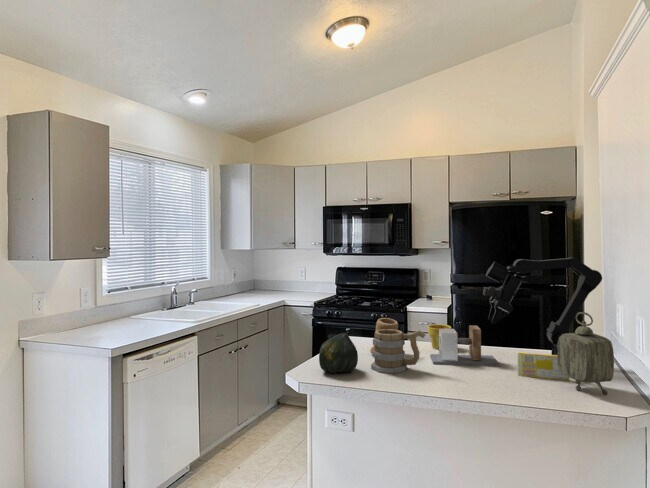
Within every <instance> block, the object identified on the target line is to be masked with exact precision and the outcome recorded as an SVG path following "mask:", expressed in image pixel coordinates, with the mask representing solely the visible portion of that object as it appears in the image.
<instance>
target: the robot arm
mask: <svg viewBox="0 0 650 488" xmlns="http://www.w3.org/2000/svg"><path fill="white" fill-rule="evenodd" d="M559 269H560V270H561V269H570V270H572V271H573V272H574V273H575V274H576V275H578V280H577V283H576V284H577V286H576V289H575V291H574V292H573V294H572V296H571V298H570V299H569V302H568V303H567V305H566V307H565V309H564V310H563V312H562V313H561V316H560V317H559V319H558V320H557V321H555V322H554V321H553V320H552V321H551V322H550V324H549V327H547V329H546V336H547V339H548V341H550V342H551V344H552V349H551V353H550V354H551V355H557V348H558V339H559V337H560V336H561V335H562V334H568V333H571V332H570V331H571V325H572V323H573V322H574V320H576V314H577V313H579V312H580V310H581V308H582V306H583V305H584V302H585V301H586V300H587V298H588V296H589V294H590V293H592V292H593V291H594V290H595V289H596V288H597V287H598V286H599V285H600V284H601V282H602V280H603V275H602V274H601V272H600V271H599V270H596V269H593V268H592V269H591V267H589V266H587V265H586V264H585V263H583V262H581V261H580V260H579V259H578V258H576V257H567V258H554V259H553V258H552V259H544V260H543V259H541V260H533V259H525V258H524V259H523V258H522V259H521V258H519V259H516V260H515V261H514V262H513V264H510V265H508V266H503V265H502V264H499V262H497V261H493V263H492V264H491V265H490V267H489V268H488V269H487V271H486V273H485V277H487V278H489V279H491V280H493V281H495V282H497V283H501V282H503V283H502V285H501V286H499V287H498V288H495V287H494V286H489V287H488V286H487V287H486V286H483V291H482V295H483V296H484V297H490V298H489V304H490V309H489V314H488V318H487V320H488V321H491V322H490V323H491V325H494V326H495V325H496V324H497V323H498V322H499V321H501V320H502V319H503V318H505V317H507V316H508V315H510V314H512V312H513V310H514V306H513V305H512V303H511V302H512V300H513V299H514V297H516V296H517V291H518V290H519V288H520V286H521V284H522V283H524V284H528V283H529V281H528V280H527V276H526V275H527V274H531V273H534V272H537V271H538V272H539V271H544V270H546V271H547V270H559ZM509 272H510V273H509ZM512 273H514V274H512ZM521 275H523V276H521Z"/></svg>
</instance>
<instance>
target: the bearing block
mask: <svg viewBox="0 0 650 488" xmlns="http://www.w3.org/2000/svg"><path fill="white" fill-rule="evenodd" d="M457 338H458V332H457V331H456V329H455V328H451V329H439V349H438V354H439V356H440V358H441V360H442V361H458V355H459V354H458V345H459V344H458V343H457Z"/></svg>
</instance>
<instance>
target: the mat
mask: <svg viewBox="0 0 650 488" xmlns="http://www.w3.org/2000/svg"><path fill="white" fill-rule="evenodd" d="M429 355H430V356H429V357H430V360H431V361H432V364H433V365H447V366H449V365H450V366H451V365H453V366H454V365H455V366H484V367H486V366H488V367H500V365H501V364H500V362H499V361H498V360H497V359H496V357H495V356H493V355H491V354H490V355H482V354H481V361H480V360H473V359H472V358H471V357H470V355H469V354H458V361H442V360H441V358H440V356H439V353H430V354H429Z"/></svg>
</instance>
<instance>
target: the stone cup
mask: <svg viewBox="0 0 650 488" xmlns="http://www.w3.org/2000/svg"><path fill="white" fill-rule="evenodd" d="M383 329H386V330H387V329H392V330H399V322H398V321H397V320H395V319H393V318H389V317H381V318H378V319H377V321H376V323H375V332H376V331H377V330H383ZM374 350H375V345H373V346H372V347H371V348H370V350H369V352H370V354H373V351H374Z"/></svg>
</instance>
